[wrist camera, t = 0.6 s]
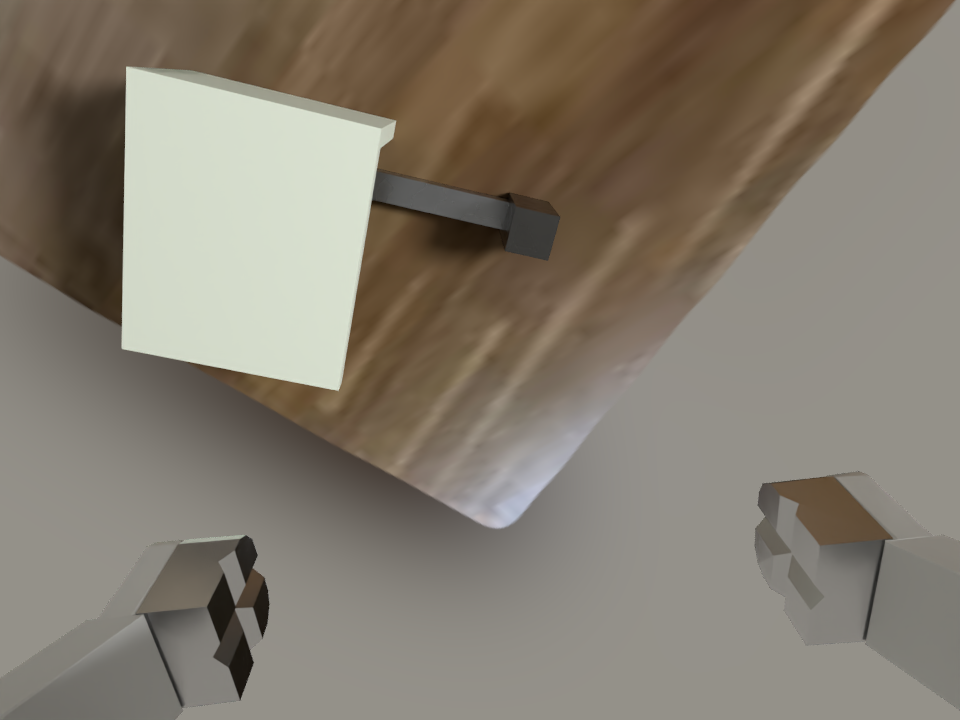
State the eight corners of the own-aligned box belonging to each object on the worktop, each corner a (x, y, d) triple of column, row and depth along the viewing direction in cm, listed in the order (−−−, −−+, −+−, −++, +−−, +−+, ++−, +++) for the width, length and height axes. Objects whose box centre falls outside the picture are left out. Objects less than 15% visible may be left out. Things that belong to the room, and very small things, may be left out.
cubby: (191, 70, 43) (126, 66, 35) (396, 120, 45) (381, 128, 36) (179, 303, 49) (121, 348, 41) (358, 340, 51) (338, 390, 43)
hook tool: (300, 143, 45) (278, 150, 40) (548, 201, 47) (560, 217, 42) (288, 245, 48) (266, 265, 42) (522, 296, 50) (530, 321, 45)
